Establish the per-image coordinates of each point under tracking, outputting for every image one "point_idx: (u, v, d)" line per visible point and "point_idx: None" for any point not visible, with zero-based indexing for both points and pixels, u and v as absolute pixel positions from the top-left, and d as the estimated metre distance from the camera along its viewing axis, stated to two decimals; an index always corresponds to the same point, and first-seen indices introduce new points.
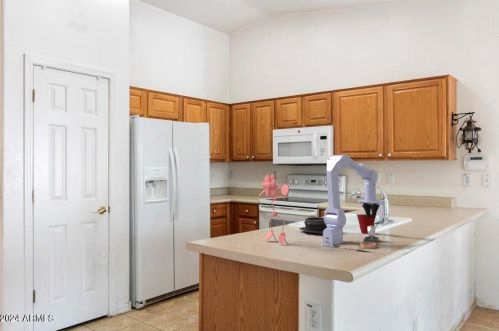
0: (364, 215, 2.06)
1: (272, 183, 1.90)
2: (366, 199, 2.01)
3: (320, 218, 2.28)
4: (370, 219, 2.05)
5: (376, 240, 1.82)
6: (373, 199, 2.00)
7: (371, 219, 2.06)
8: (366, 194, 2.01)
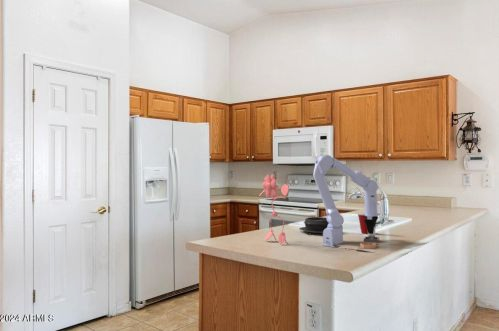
0: (365, 216, 2.05)
1: (272, 183, 1.90)
2: None
3: (320, 218, 2.28)
4: None
5: (376, 240, 1.82)
6: (368, 212, 1.84)
7: None
8: None
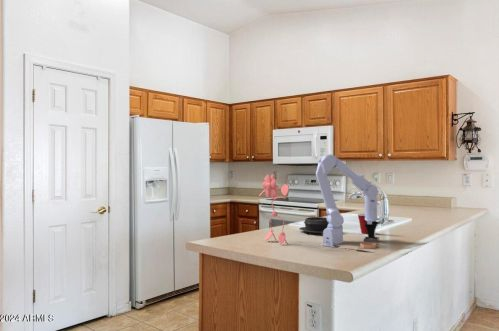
0: None
1: (272, 183, 1.90)
2: None
3: (320, 218, 2.28)
4: None
5: (376, 240, 1.82)
6: (368, 217, 1.84)
7: None
8: None
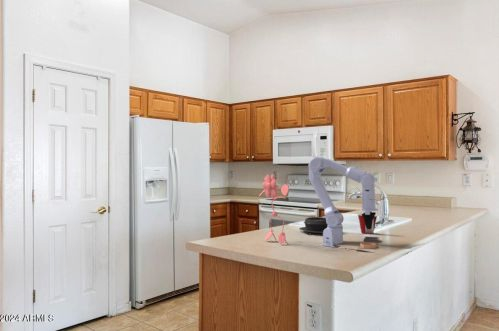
0: None
1: (272, 183, 1.90)
2: None
3: (320, 218, 2.28)
4: None
5: (376, 240, 1.82)
6: (366, 207, 1.76)
7: None
8: None
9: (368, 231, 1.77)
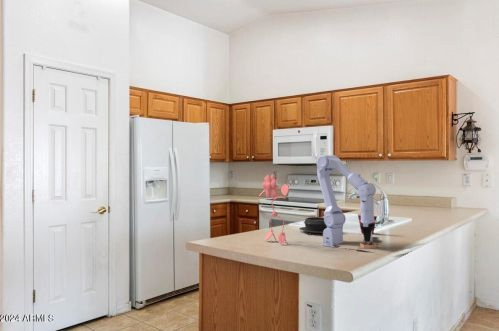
0: None
1: (272, 183, 1.90)
2: None
3: (320, 218, 2.28)
4: None
5: (376, 240, 1.82)
6: (364, 219, 1.70)
7: None
8: None
9: (366, 243, 1.71)
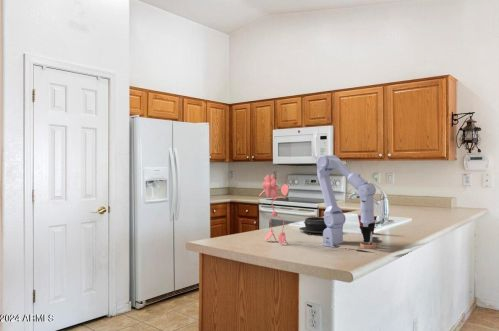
0: None
1: (272, 183, 1.90)
2: None
3: (320, 218, 2.28)
4: None
5: (376, 240, 1.82)
6: (364, 219, 1.70)
7: None
8: None
9: None
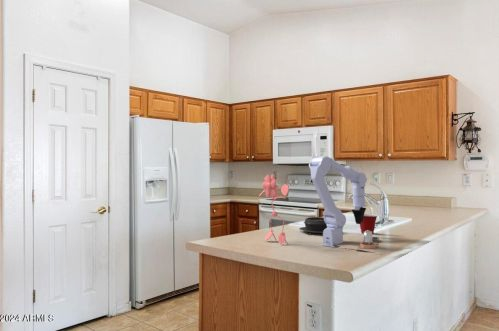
0: (365, 216, 2.04)
1: (272, 183, 1.90)
2: None
3: (320, 218, 2.28)
4: (371, 221, 2.04)
5: (376, 240, 1.82)
6: (356, 203, 1.91)
7: (372, 220, 2.05)
8: None
9: None
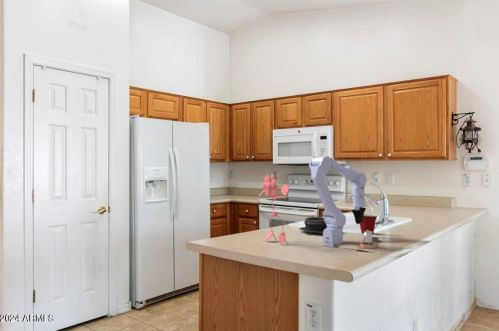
0: (365, 216, 2.04)
1: (272, 183, 1.90)
2: None
3: (320, 218, 2.28)
4: (371, 221, 2.04)
5: (376, 240, 1.82)
6: (356, 203, 1.92)
7: (372, 220, 2.05)
8: None
9: None
